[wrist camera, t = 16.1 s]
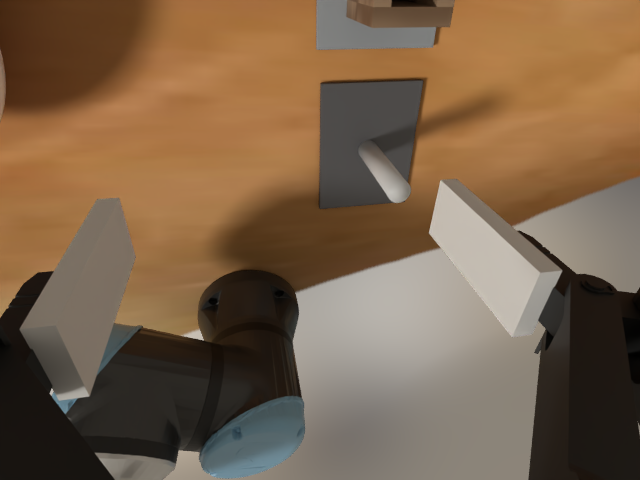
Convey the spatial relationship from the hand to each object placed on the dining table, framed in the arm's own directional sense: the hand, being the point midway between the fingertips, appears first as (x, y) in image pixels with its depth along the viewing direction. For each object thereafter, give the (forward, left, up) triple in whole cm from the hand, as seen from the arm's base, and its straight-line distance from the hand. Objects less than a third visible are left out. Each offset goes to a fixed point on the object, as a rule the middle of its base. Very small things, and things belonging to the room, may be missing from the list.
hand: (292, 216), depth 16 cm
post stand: (-10, -13, -31) cm, 35 cm away
